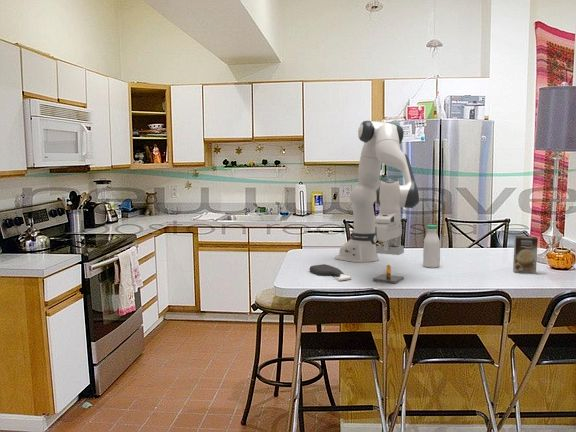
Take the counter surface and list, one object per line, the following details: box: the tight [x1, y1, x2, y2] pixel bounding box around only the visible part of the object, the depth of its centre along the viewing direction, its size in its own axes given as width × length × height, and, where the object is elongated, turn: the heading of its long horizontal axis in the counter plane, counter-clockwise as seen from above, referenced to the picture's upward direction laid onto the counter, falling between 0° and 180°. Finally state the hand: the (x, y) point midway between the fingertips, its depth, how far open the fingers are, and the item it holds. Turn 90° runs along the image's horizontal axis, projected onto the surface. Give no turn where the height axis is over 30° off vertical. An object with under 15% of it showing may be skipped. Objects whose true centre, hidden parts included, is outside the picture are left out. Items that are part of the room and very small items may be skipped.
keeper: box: [372, 264, 405, 285], centre depth 221 cm, size 10×10×7 cm
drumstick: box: [309, 263, 352, 282], centre depth 232 cm, size 3×11×24 cm
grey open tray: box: [376, 243, 405, 256], centre depth 220 cm, size 10×6×3 cm, turn 58°
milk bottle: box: [422, 224, 441, 269], centre depth 247 cm, size 8×8×20 cm
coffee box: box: [512, 235, 539, 275], centre depth 232 cm, size 9×6×16 cm
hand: (390, 249), depth 220 cm, fingers closed on grey open tray, 6 cm apart
